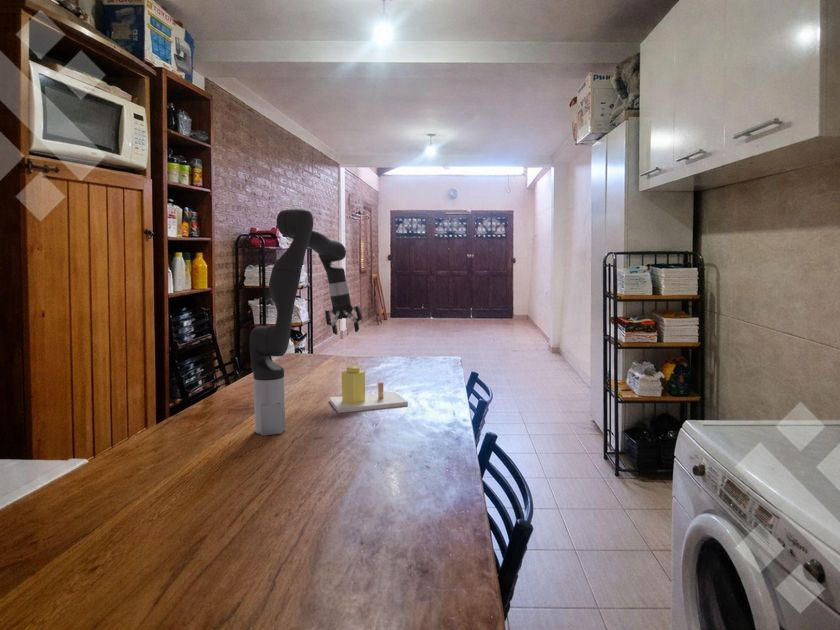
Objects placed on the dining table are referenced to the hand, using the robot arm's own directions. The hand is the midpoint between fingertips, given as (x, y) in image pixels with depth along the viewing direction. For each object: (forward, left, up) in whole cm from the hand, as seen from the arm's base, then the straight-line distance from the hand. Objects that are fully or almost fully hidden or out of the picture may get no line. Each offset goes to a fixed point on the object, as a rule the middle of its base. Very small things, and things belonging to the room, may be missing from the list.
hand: (346, 333), depth 212 cm
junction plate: (-20, -3, -24) cm, 32 cm away
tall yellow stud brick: (-20, +2, -23) cm, 30 cm away
